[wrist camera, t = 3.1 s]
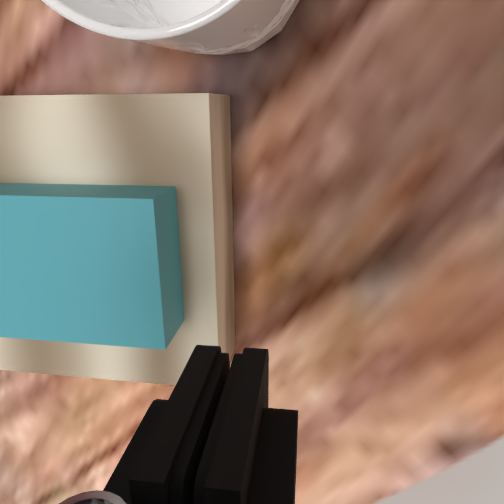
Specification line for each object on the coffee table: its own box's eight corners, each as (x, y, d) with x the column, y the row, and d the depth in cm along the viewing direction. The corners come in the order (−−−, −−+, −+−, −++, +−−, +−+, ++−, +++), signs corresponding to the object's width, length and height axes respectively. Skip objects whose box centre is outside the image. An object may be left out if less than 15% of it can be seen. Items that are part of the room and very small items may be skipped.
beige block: (230, 95, 20) (208, 93, 16) (235, 344, 24) (219, 389, 20) (-112, 99, 23) (-198, 98, 19) (-53, 323, 27) (-114, 359, 23)
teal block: (175, 186, 18) (153, 198, 15) (184, 320, 19) (165, 349, 17) (-25, 182, 19) (-75, 193, 16) (1, 308, 21) (-39, 334, 18)
